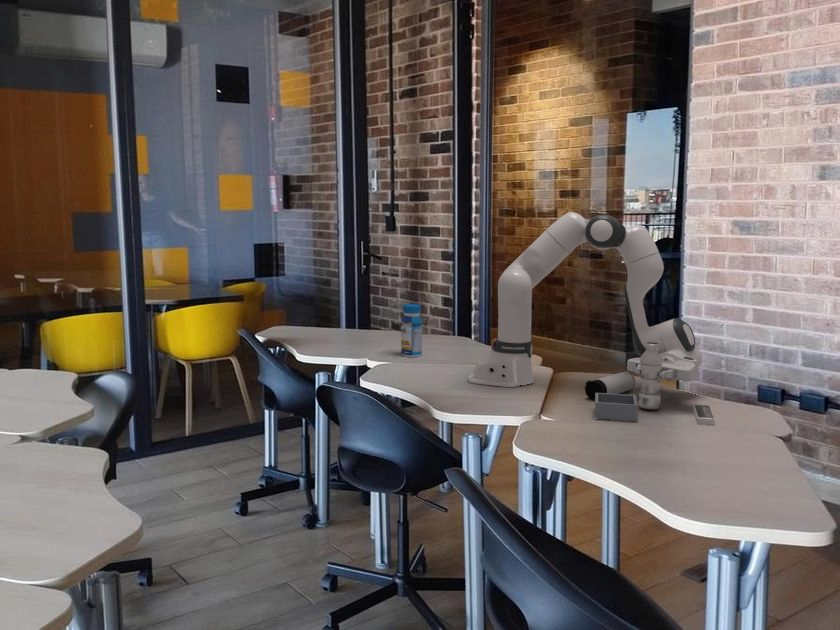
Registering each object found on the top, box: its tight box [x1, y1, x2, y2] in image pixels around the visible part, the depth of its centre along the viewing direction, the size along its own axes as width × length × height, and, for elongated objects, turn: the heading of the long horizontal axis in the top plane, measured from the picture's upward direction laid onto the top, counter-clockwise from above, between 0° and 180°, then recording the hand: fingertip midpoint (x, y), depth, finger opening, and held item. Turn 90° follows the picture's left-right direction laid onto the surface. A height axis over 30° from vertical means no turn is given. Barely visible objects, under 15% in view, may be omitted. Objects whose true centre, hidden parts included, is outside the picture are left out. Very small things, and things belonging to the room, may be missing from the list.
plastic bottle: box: [637, 342, 663, 411], centre depth 237 cm, size 6×7×20 cm
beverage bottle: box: [400, 303, 424, 358], centre depth 311 cm, size 8×8×20 cm
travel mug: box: [584, 371, 636, 401], centre depth 254 cm, size 6×7×20 cm
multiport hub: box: [692, 404, 715, 426], centre depth 230 cm, size 4×14×2 cm, turn 166°
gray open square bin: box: [594, 393, 639, 422], centre depth 232 cm, size 12×12×5 cm
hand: (649, 373), depth 236 cm, fingers closed on plastic bottle, 6 cm apart
